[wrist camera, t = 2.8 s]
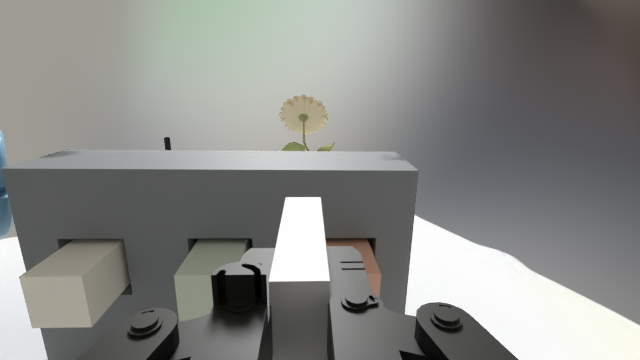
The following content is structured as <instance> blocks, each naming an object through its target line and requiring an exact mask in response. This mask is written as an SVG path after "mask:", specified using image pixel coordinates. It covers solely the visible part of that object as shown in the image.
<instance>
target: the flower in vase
mask: <svg viewBox="0 0 640 360" xmlns="http://www.w3.org/2000/svg"><path fill="white" fill-rule="evenodd" d="M283 105H284V107H282V108H281V109H282V111H283V112H280V113H279V115H280V118H281V119H282V122H283V123H285V127H286V128H287V129H289V130H291V131H292V132H295V131H297V132H298V133H299V134H303V143H304V146H305V147H304V146H303V145H301V144H298V143H295V142H292V143H289V144H288V145H286V146H285V147H284V149H283V150H282V151H304V150H305V148H306V150H307V151H309V149H308V148H307V146H306V143H305V134H306V135H307V134H309V133H310V132H311V133H314V132H316V131H318V130H321V129H323V127H322V126H324V125H325V121H327V120H328V118H327V113H326V111H325V107H324V106H323V105H322V102H321V101H317V100H315V101H314V98H313V97H306V96H305V95H301V96H300V97H298V96H294V97H293V99H288V100H287V102H284V104H283ZM333 146H334V143H333V144H331V145H328V146H324V147H321V148H319V149H318V150H317V151H330V150H331V149H332V147H333Z"/></svg>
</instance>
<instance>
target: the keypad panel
mask: <svg viewBox="0 0 640 360" xmlns="http://www.w3.org/2000/svg"><path fill="white" fill-rule="evenodd" d="M1 171H2V175H3V179H4V183H5V187H6V191H7V195H8V199H9V203H10V207H11V211H12V215H13V219H14V224H15V228H16V231H17V236H18V240H19V244H20V248H21V252H22V256H23V260H24V264H25V268H26V272H27V271H28V270H30V269H31V268H33V267H34V266H36V265H37V264H39V263H40V262H42V261H43V260H45V259H46V258H47V257H49V256H50V255H52V254H53V253H55V252H56V251H58V250H59V249H61V248H62V247H64V246H65V245H67V244H68V243H69V242H71V241H72V240H74V239H124V243H125V249H126V256H127V262H128V269H129V275H130V281H131V283H130V284H129V285H128V286H127V287H126V289H125V290H124V291H123V292H122V293H121V294H120V295H119V297H118V298H117V299H116V300H115V301H114V302H113V304H112V305H111V306H110V307H109V308H108V309H107V310H106V312H105V313H104V314H103V315H102V316H101V317H100V318H99V320H98V321H97V322H96V323H95V324H94V325H93V327H77V328H41V332H42V336H43V340H44V345H45V349H46V353H47V357H48V360H77V359H78V358H79V357H80V356H82V355H83V354H84V353H85V352H86V351H87V350H89V349H90V348H91V347H92V346H93V345H94V344H95V343H97V342H98V341H99V340H100V339H101V338H102V337H104V336H105V335H106V334H107V333H108V332H109V331H111V330H112V329H113V328H114V327H115V326H116V325H118V324H119V323H120V322H121V321H123V320H124V319H126V318H127V317H129V316H130V315H132V314H135V313H137V312H140V311H142V310H146V309H152V308H165V309H169V310H172V311H173V312H174V313H175V314H176V315H177V320H178V322H179V316H178V307H177V299H176V290H175V281H174V275H175V273H176V272H177V270H178V269H179V267H180V266H181V264H182V263H183V261H184V260H185V259H186V257H187V256H188V254H189V253H190V251H191V250H192V248H193V247H194V245H195V244H196V242H197V241H198V239H199V238H249V243H250V249H251V248H276V243H277V238H278V233H279V228H280V223H281V218H282V213H283V208H284V203H285V198H286V197H321V205H322V214H323V223H324V232H325V238H367V239H368V242H369V244H370V247H371V249H372V252H373V254H374V257H375V260H376V262H377V265H378V267H379V270H380V272H381V284H380V297H379V298H380V299H381V301H382V302H383V305H384V307H385V308H386V309H389V310H391V311H393V312H397V313H400V314H405V304H406V294H407V284H408V274H409V263H410V253H411V243H412V233H413V223H414V211H415V202H416V192H417V182H418V170H417V169H416V168H415V167H413V166H412V165H411V164H410V163H408V162H407V161H406V160H404V159H403V158H402V157H401V156H399V155H398V154H397V153H396V152H342V151H341V152H338V151H334V152H333V151H211V150H209V151H206V150H203V151H202V150H80V149H79V150H78V149H74V150H73V149H70V150H69V149H67V150H63V151H60V152H57V153H53V154H49V155H46V156H43V157H39V158H36V159H32V160H29V161H25V162H22V163H18V164H15V165H11V166H8V167H4V168H1Z"/></svg>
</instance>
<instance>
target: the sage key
mask: <svg viewBox="0 0 640 360" xmlns="http://www.w3.org/2000/svg"><path fill="white" fill-rule="evenodd" d="M249 249H250V243H249V238H199V239H198V241H197V242H196V244H195V245H194V247H193V248H192V250H191V251H190V253H189V254H188V256H187V257H186V259H185V260H184V261H183V263H182V264H181V266H180V267H179V269H178V270H177V272H176V273H175V275H174V281H175V290H176V299H177V307H178V316H179V322H181V321H186V320H190V319H195V318H198V317H202V316H204V315H207V314H209V313H210V312H211V309H212V307H213V295H212V284H211V274H212V273H213V272H214V271H215V270H216V269H218V268H219V267H221V266H223V265H226V264H229V263H232V262H240V260H241V257H242V255H243V254H244V253H246V252H247V251H248V250H249Z"/></svg>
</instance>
